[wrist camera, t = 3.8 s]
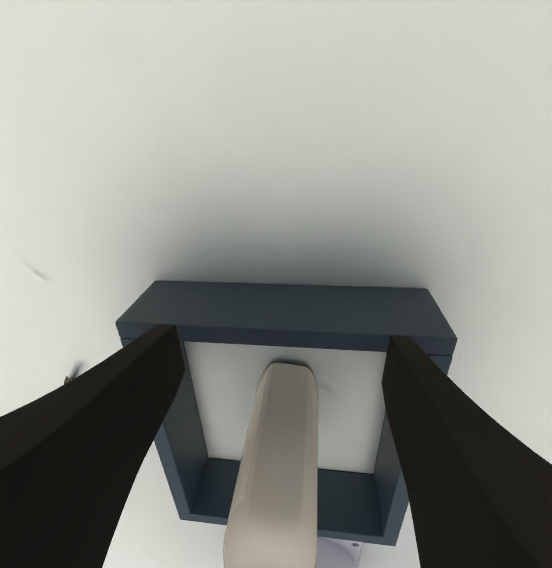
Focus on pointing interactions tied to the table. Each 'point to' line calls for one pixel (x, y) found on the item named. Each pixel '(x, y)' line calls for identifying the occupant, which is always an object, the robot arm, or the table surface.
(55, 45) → the table surface
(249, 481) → the eye dropper bottle
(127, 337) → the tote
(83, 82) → the table surface
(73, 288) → the table surface
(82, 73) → the table surface
